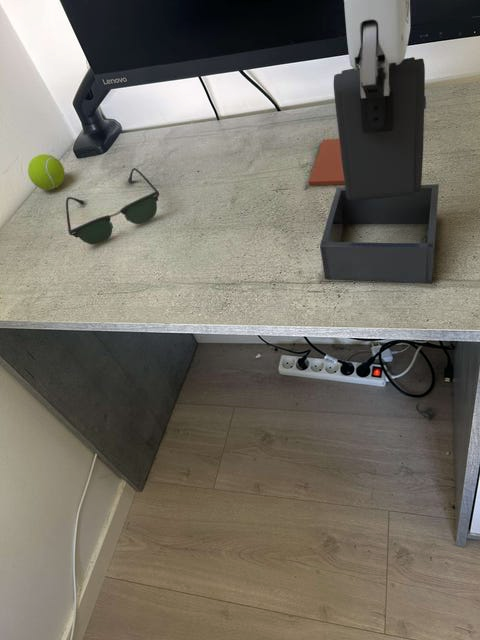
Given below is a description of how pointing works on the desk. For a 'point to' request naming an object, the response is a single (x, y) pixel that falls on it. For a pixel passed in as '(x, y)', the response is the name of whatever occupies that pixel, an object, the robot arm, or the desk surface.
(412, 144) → the card reader
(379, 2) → the robot arm
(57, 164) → the tennis ball
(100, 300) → the desk surface
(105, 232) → the sunglasses
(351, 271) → the grey open bin
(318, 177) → the mat
